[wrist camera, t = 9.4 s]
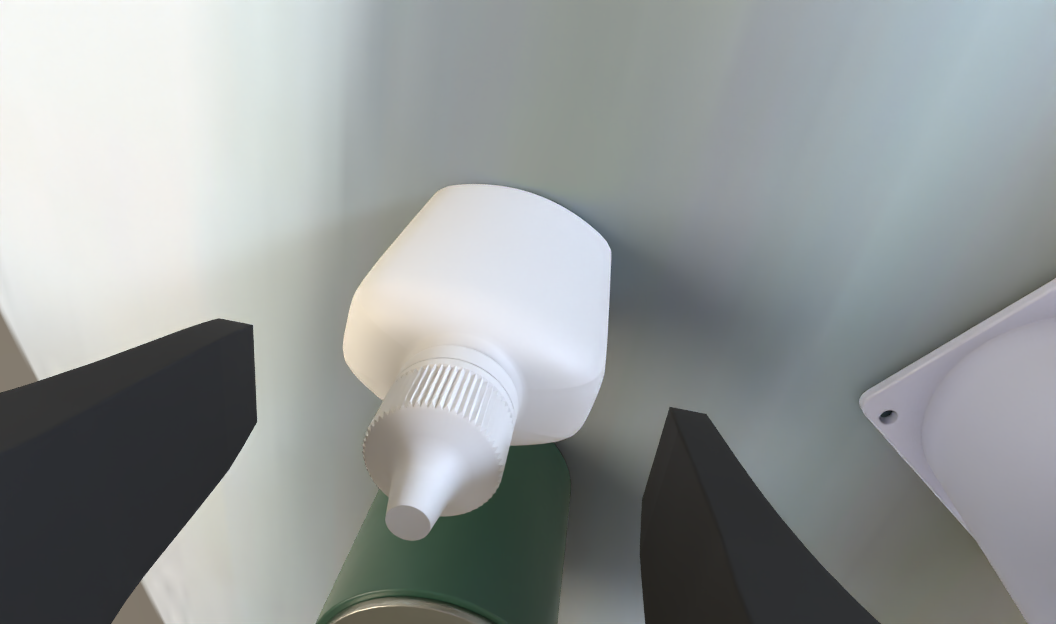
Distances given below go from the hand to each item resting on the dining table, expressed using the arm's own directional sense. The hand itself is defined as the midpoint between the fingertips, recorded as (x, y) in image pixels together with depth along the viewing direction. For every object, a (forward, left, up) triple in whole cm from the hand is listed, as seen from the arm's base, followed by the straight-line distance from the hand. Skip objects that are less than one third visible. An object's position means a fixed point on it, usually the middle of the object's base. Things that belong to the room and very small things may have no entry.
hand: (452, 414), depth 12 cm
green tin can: (-6, +8, -10) cm, 14 cm away
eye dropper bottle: (0, +1, -10) cm, 10 cm away
